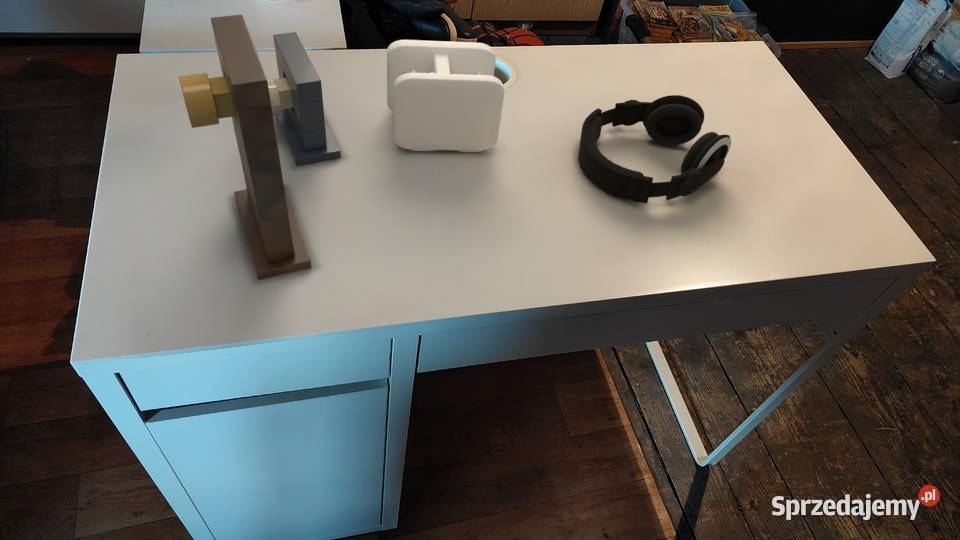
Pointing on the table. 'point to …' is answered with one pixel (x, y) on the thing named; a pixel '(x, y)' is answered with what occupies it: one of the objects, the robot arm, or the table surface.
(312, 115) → the panel back
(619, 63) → the table surface
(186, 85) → the knob front
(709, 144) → the headphones
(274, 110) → the knob back
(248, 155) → the panel front
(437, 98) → the cable organizer
